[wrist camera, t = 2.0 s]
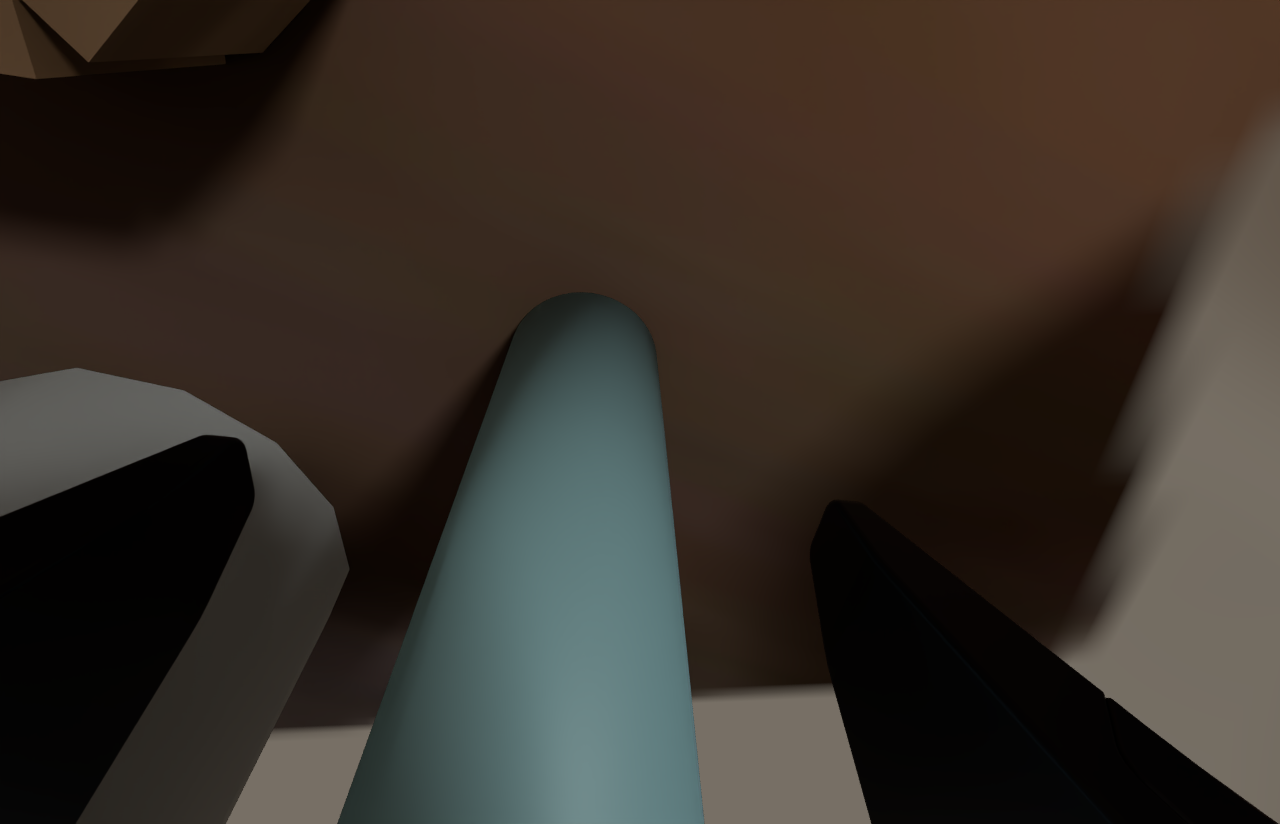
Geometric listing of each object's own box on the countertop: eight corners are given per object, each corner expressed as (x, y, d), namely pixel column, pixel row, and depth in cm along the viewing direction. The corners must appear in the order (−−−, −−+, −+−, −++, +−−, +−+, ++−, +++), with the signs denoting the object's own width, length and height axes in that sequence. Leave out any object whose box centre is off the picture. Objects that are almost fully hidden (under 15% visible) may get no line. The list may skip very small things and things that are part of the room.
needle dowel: (667, 303, 11) (802, 1118, 3) (644, 430, 13) (686, 1224, 4) (513, 282, 11) (147, 1112, 3) (507, 414, 13) (261, 1229, 4)
